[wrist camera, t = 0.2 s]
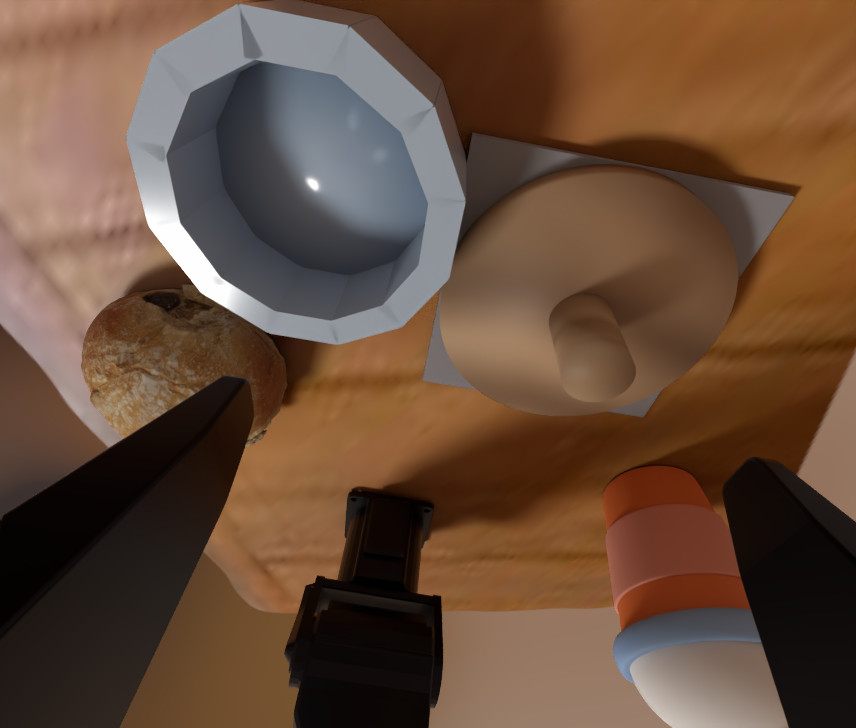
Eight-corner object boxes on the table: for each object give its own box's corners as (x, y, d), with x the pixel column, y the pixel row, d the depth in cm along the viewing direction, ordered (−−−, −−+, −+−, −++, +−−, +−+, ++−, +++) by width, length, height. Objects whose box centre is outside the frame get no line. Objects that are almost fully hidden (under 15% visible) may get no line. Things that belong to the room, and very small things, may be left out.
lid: (643, 416, 26) (673, 494, 22) (422, 380, 26) (413, 453, 22) (794, 196, 18) (886, 257, 14) (472, 134, 17) (473, 180, 13)
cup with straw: (579, 528, 35) (649, 880, 21) (581, 454, 29) (676, 866, 16) (707, 524, 33) (872, 901, 20) (735, 444, 28) (992, 895, 14)
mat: (641, 412, 27) (643, 417, 26) (423, 376, 26) (422, 380, 26) (789, 193, 18) (795, 196, 18) (472, 132, 18) (472, 134, 17)
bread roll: (297, 279, 27) (230, 292, 19) (308, 439, 29) (253, 508, 22) (138, 277, 28) (12, 290, 20) (163, 434, 30) (59, 499, 22)
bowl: (437, 303, 23) (431, 360, 19) (217, 265, 22) (171, 316, 19) (491, 39, 16) (497, 55, 12) (170, -26, 15) (83, -28, 12)
